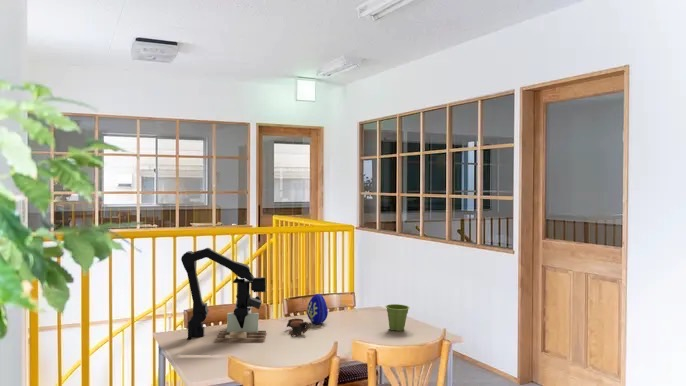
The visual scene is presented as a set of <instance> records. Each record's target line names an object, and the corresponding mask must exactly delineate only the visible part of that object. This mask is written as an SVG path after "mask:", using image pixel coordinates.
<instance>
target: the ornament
mask: <svg viewBox="0 0 686 386" xmlns="http://www.w3.org/2000/svg"><path fill="white" fill-rule="evenodd" d="M328 314H329V309H328V306H327V302H326V300H325V298H324V296H323V295H322V294H320V293H317V294H316V293H315V294H314V295H313V296H312V297H311V298H310V300H309V302H308V304H307V309H306V315H307V318H308V319H309V321H310V322H311V323H312V324H316V325H319V324H323V323H325V321H326V320H327V318H328Z"/></svg>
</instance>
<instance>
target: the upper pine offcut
mask: <svg viewBox="0 0 686 386" xmlns="http://www.w3.org/2000/svg"><path fill="white" fill-rule="evenodd" d="M246 334H247V331H231V332H230V337H246Z"/></svg>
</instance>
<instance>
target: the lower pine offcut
mask: <svg viewBox="0 0 686 386" xmlns="http://www.w3.org/2000/svg"><path fill="white" fill-rule="evenodd" d="M246 337H247V335H246ZM246 337H230V335H226V336H225V338H246Z"/></svg>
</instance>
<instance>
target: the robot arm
mask: <svg viewBox="0 0 686 386" xmlns="http://www.w3.org/2000/svg"><path fill="white" fill-rule="evenodd" d="M205 258H207V259H209V260H210V261H213V262H215V263H217V264H219V265H220V266H223V267H224V268H226V269H228V270H230V271H231V272H232V273H233V274H234V275H235V276H236V277H235V279H233V282H232V283H233V284H236V295H235V297H236V300H237V304H236V303H235V305H236V308H235V307H234V310H233V313H234V315H235V316H236V318H237V320H238V323H239V325H240V327H241V328H243V326H244V321H245V317H246V316H247V315H248V314H249V313H248V312H249V311H250V309H251V310H252V308H255V309H256V310H259V309H261V308H260V307H261V305H262V303H263V300H262V299H261V296H258V295H256V296H255V297H252V295H251V293H250V292H251V291H252V292H253V293H266V292H267V291H266V287H267V284H266V277H265V276H264V277H263V276H262V277H254V274H252V272H251V268H250V266H249V265H248V264H246V263H242V262H239V261H235V260H232V259H230V258H228V257H226V256H224V255H222V254H221V253H219V252H217V251H215V250H213V249H212V248H211V247H206V248H203V249H199V250H195V251H192V250H188V251H186V252H185V253H183V254H182V256H181V259H180V261H181V263H182V265H183V268H184V270H185V272H186V274H187V278H188V279H187V280H188V284H189V290H190V293H191V299H192V315H191V317H190V318H189V320H188V321H187V338H186V340H189V341H191V340H192V339H193V338H194V339H197V338H203V337H204V336H205V326H204V323H203V322H205V320H206V318H207V317H208V314H209V311H210V310H209V308H208V302H205V303H204V301H203V298H202V297H203V296H202V293H201V288H200V287H201V286H200V283H199V278H198V272H197V262H198V261H200V260H202V259H205ZM250 290H251V291H250ZM248 307H251V308H248Z"/></svg>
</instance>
